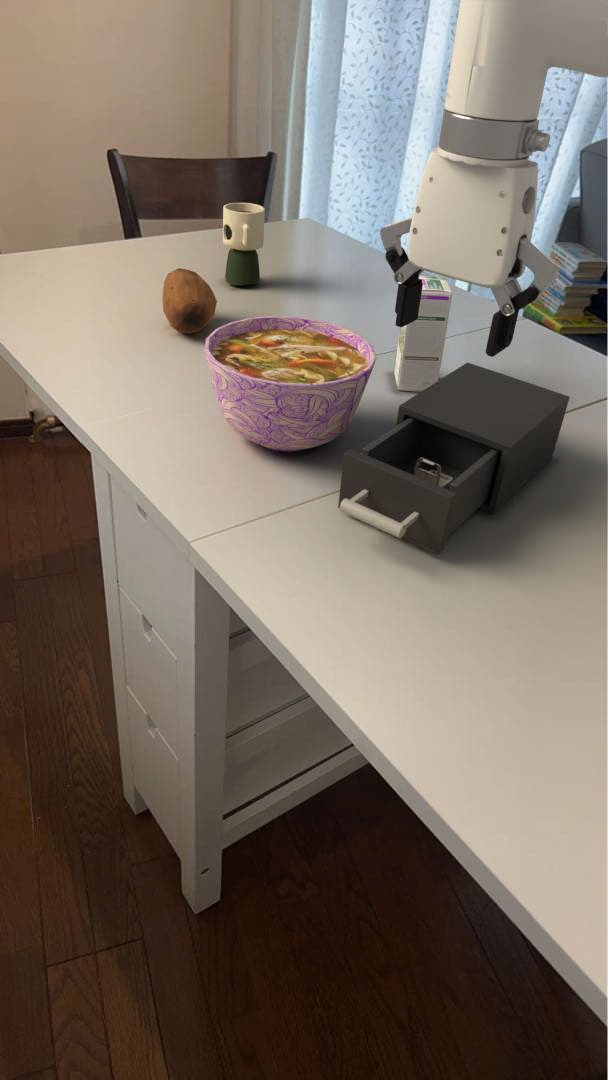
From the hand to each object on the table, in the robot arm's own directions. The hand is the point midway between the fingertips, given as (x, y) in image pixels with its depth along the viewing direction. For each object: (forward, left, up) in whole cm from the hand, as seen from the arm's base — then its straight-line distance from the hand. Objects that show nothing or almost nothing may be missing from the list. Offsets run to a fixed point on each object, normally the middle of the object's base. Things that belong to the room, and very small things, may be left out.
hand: (449, 337), depth 76 cm
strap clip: (0, -1, -18) cm, 18 cm away
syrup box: (+17, -28, -20) cm, 39 cm away
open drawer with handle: (0, +1, -19) cm, 19 cm away
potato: (+53, -20, -20) cm, 60 cm away
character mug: (+61, -42, -20) cm, 77 cm away
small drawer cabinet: (0, -13, -20) cm, 24 cm away
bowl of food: (+21, -3, -20) cm, 29 cm away
